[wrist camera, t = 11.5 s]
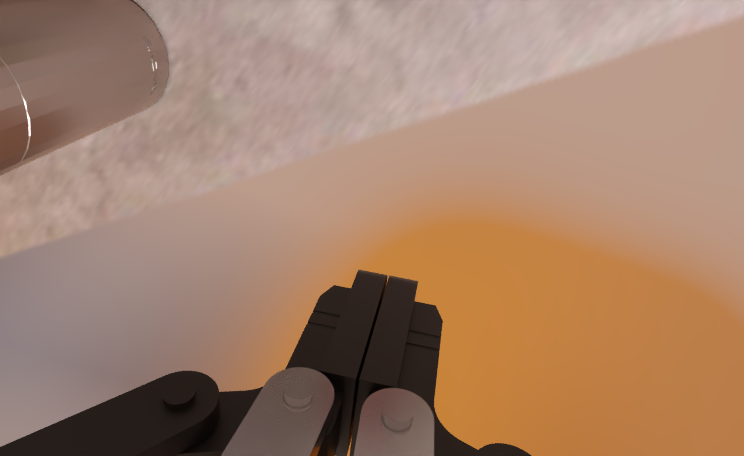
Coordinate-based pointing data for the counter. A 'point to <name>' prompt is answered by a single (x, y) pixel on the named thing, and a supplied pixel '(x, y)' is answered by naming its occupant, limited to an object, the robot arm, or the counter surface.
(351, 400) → the robot arm
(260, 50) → the counter surface
